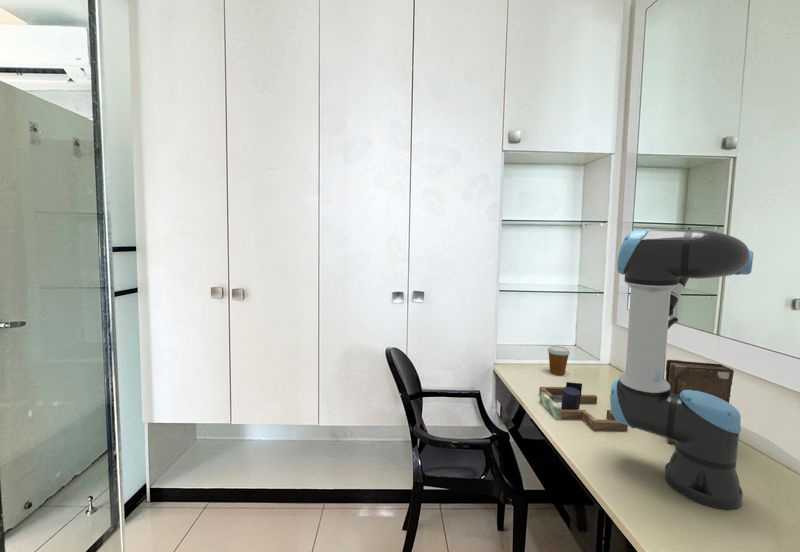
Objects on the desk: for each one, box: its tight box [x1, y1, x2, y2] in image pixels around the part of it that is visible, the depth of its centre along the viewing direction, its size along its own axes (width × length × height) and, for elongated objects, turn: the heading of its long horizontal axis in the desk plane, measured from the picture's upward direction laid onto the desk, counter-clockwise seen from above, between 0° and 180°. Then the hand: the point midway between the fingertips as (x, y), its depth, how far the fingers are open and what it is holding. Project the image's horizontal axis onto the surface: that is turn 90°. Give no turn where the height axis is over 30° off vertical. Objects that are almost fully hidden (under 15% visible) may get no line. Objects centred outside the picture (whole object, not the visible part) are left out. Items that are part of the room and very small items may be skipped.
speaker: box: [560, 381, 583, 410], centre depth 132 cm, size 8×6×10 cm
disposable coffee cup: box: [547, 345, 571, 377], centre depth 171 cm, size 10×10×12 cm
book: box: [665, 359, 735, 445], centre depth 112 cm, size 17×7×25 cm, turn 75°
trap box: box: [538, 386, 629, 432], centre depth 133 cm, size 29×22×4 cm
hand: (636, 354), depth 128 cm, fingers closed
